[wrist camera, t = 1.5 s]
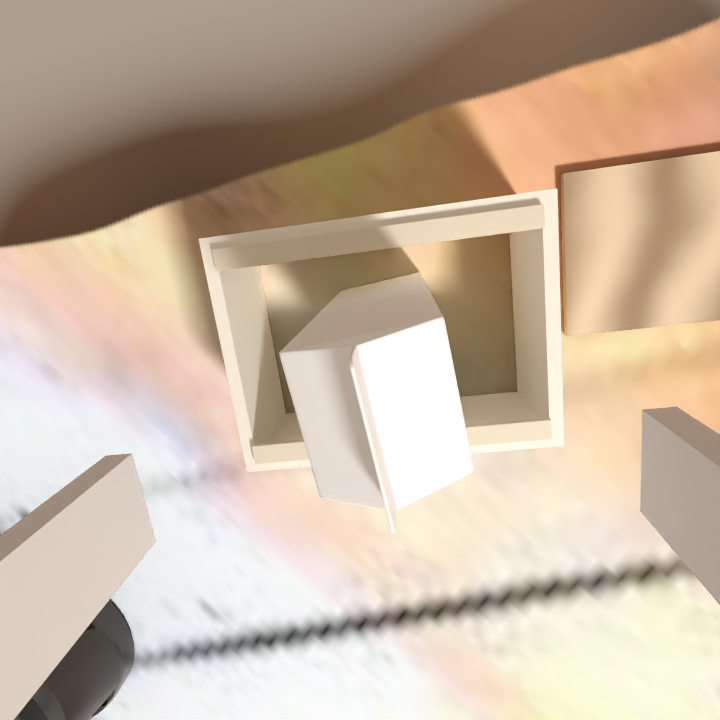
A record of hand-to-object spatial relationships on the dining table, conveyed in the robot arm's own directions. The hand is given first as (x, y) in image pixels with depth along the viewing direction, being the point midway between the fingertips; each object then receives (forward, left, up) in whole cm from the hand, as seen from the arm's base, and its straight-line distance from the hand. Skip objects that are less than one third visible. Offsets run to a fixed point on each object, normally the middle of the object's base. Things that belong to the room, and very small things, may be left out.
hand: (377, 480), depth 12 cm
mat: (+18, +3, -24) cm, 30 cm away
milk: (0, 0, -24) cm, 24 cm away
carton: (0, 0, -24) cm, 24 cm away
